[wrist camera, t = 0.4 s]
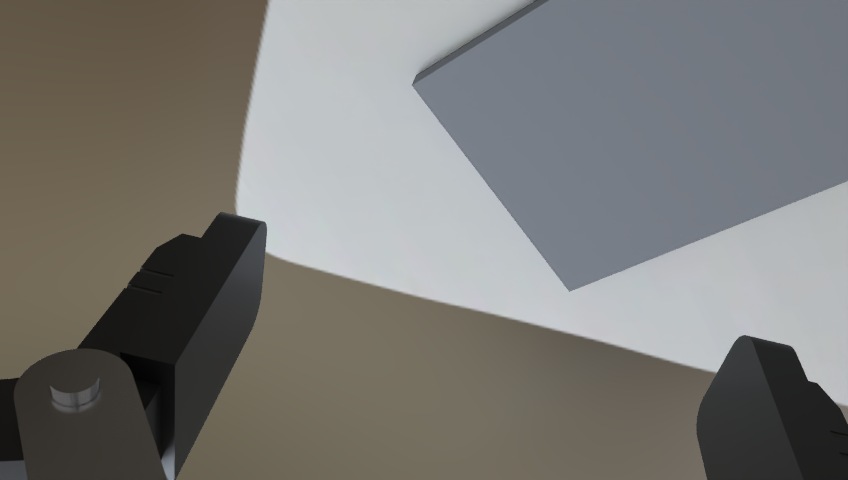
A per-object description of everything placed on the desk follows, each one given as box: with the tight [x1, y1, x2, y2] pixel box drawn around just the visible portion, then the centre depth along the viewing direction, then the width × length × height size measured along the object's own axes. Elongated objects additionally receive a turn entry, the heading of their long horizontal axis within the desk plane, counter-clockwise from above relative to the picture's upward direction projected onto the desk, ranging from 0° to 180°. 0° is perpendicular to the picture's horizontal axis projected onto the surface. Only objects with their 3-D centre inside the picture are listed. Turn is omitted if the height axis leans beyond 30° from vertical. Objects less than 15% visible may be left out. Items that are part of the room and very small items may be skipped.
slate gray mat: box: [412, 0, 848, 292], centre depth 33 cm, size 18×14×1 cm
